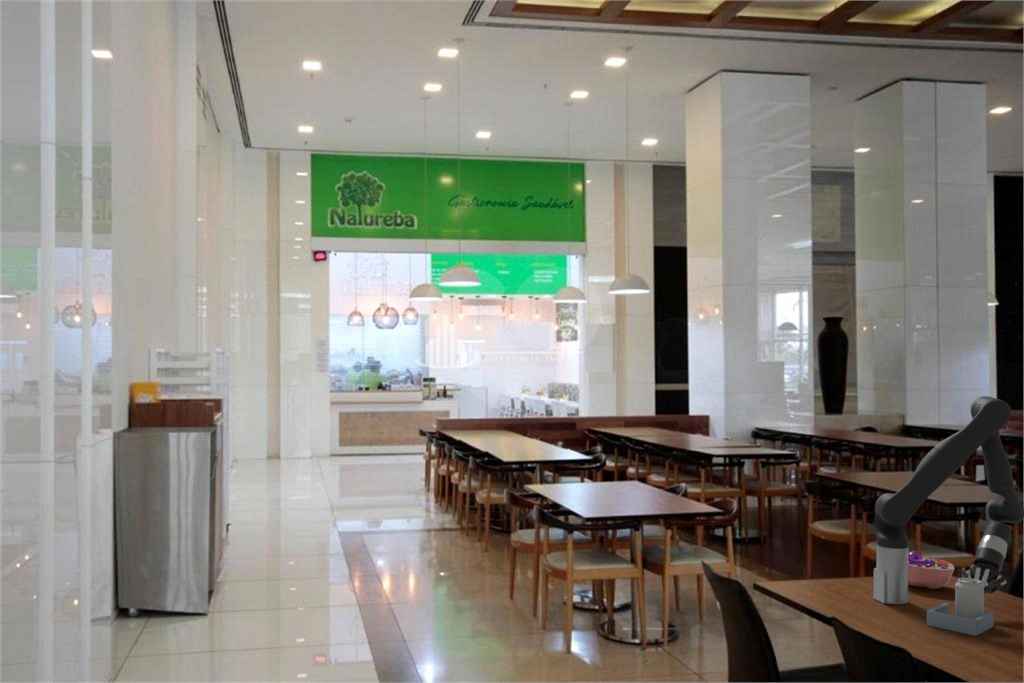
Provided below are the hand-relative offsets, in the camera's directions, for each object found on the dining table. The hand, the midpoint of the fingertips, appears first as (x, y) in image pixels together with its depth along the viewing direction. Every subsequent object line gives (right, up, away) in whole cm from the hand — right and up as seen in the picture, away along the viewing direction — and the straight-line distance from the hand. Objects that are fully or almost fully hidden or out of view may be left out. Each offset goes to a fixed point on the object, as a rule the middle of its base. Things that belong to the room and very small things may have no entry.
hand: (975, 602), depth 270 cm
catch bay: (-8, -5, -7) cm, 12 cm away
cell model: (+1, -5, +36) cm, 36 cm away
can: (-3, -5, -3) cm, 7 cm away
